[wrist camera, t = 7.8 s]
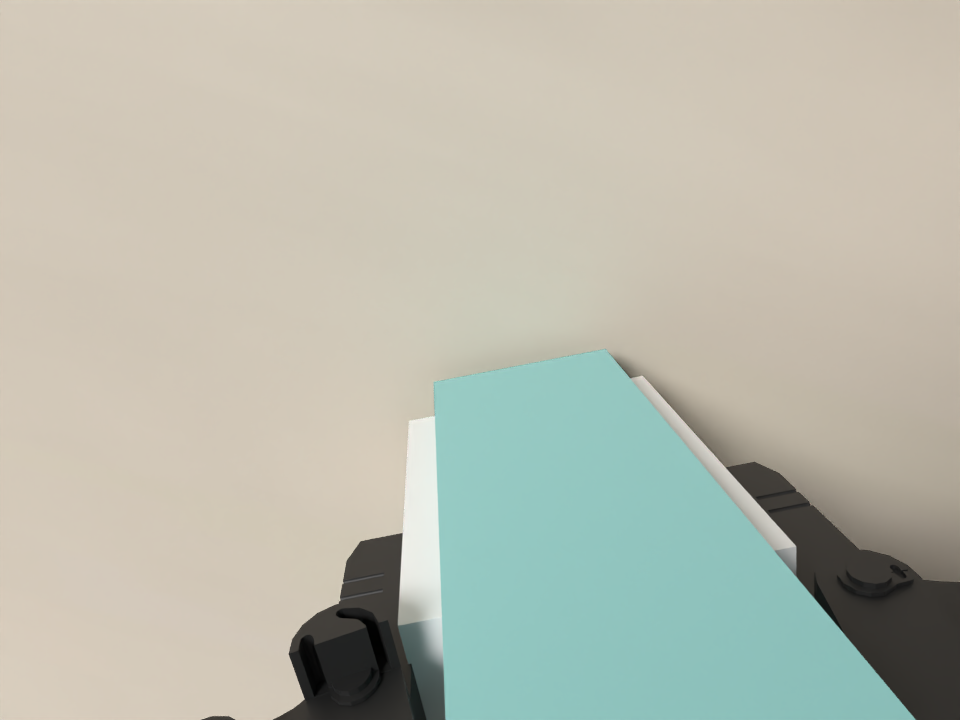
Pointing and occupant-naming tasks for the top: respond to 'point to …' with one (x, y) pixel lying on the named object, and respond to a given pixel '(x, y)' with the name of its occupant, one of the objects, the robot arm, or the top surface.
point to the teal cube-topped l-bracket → (615, 568)
